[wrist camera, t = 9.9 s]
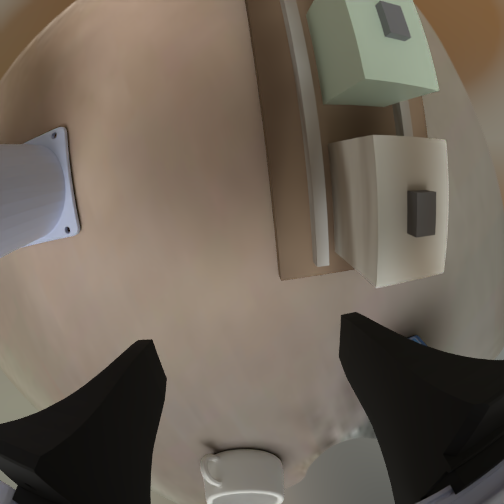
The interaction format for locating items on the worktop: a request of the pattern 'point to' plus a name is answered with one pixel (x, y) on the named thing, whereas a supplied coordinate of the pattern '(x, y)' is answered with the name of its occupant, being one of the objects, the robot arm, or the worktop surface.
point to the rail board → (290, 136)
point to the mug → (243, 477)
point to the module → (370, 52)
